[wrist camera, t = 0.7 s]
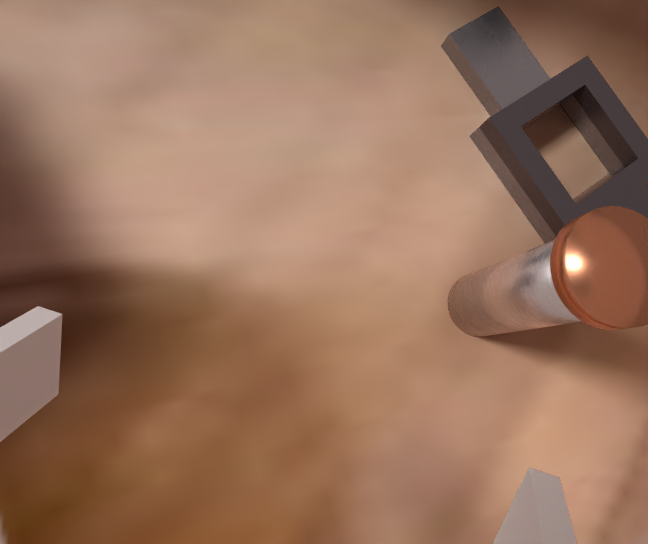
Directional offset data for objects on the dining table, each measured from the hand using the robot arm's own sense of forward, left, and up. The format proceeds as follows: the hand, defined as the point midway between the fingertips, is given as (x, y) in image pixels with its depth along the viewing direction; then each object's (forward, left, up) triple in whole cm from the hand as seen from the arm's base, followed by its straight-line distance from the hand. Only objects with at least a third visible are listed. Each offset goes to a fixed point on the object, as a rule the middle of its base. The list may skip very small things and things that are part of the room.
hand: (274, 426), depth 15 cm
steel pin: (-8, +16, -20) cm, 27 cm away
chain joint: (-20, +22, -20) cm, 35 cm away
